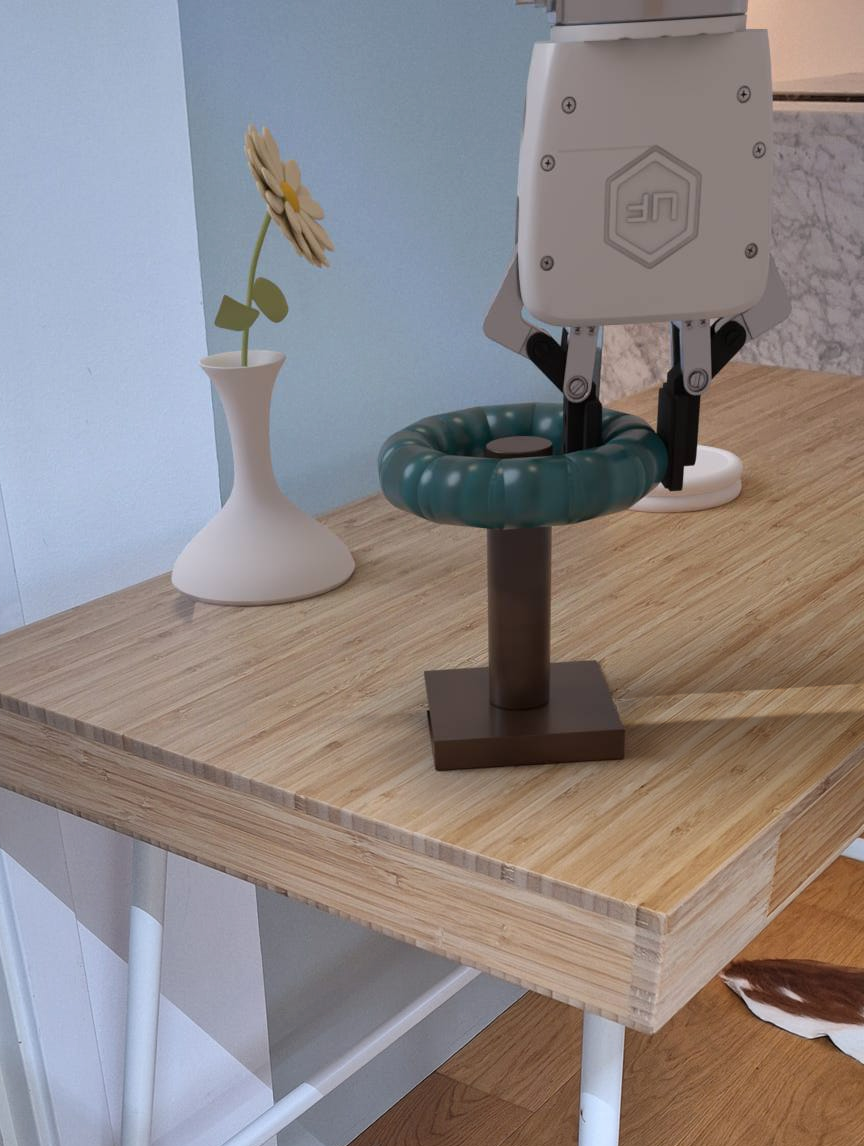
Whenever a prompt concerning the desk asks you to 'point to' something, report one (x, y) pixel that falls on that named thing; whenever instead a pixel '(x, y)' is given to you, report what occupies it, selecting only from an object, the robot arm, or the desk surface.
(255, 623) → the desk surface
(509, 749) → the post
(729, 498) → the white grooved disc
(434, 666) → the desk surface
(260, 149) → the flower in vase
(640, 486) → the ring
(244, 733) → the desk surface
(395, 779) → the desk surface
